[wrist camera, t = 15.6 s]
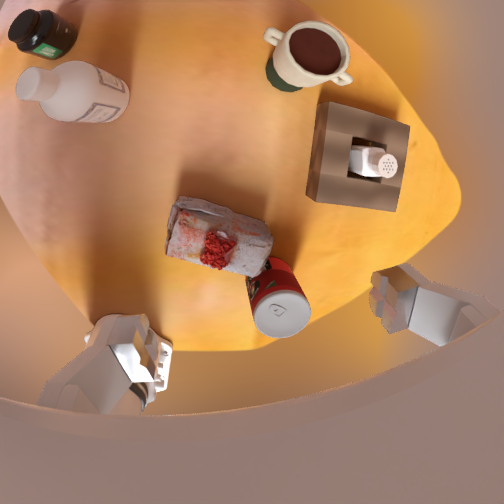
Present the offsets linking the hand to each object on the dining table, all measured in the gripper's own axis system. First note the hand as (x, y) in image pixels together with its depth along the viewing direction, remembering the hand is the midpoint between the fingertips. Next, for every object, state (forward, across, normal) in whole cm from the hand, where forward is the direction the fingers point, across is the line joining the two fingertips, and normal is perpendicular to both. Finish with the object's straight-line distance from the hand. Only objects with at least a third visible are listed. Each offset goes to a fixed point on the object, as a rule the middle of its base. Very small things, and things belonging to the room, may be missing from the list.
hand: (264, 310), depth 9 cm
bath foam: (+31, +15, -15) cm, 38 cm away
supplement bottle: (+31, +23, -29) cm, 49 cm away
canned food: (+31, -4, +17) cm, 36 cm away
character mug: (+31, -10, -14) cm, 36 cm away
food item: (+31, +2, +7) cm, 32 cm away
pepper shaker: (+31, -20, 0) cm, 37 cm away
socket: (+31, -20, -1) cm, 37 cm away
